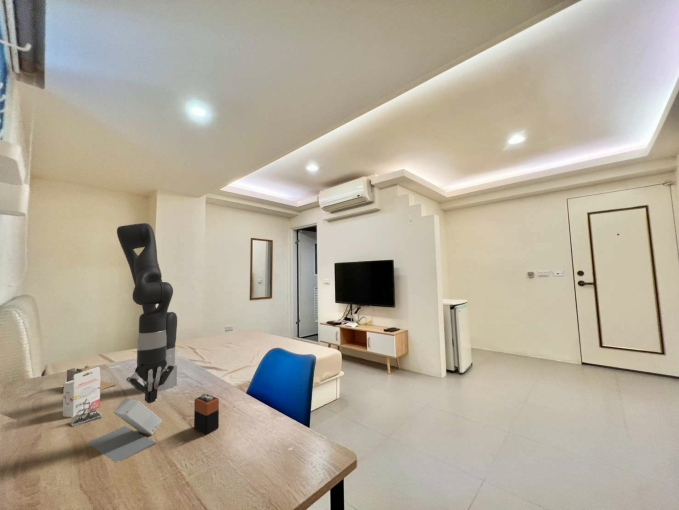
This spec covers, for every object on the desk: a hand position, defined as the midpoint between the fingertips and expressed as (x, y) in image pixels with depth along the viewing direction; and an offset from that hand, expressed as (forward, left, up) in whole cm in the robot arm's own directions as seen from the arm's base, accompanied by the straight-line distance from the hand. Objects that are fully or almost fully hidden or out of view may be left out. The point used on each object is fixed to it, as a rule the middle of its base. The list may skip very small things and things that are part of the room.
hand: (150, 402), depth 82 cm
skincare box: (0, 0, -8) cm, 8 cm away
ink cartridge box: (+5, -36, -9) cm, 37 cm away
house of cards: (+6, -28, -9) cm, 30 cm away
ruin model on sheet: (-3, -67, -9) cm, 68 cm away
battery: (-9, +15, -9) cm, 19 cm away
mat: (+9, 0, -9) cm, 13 cm away
